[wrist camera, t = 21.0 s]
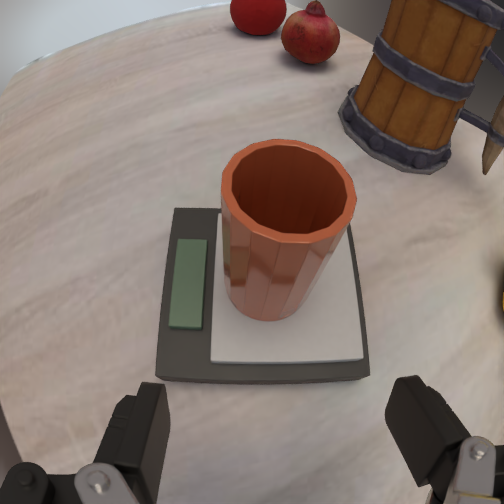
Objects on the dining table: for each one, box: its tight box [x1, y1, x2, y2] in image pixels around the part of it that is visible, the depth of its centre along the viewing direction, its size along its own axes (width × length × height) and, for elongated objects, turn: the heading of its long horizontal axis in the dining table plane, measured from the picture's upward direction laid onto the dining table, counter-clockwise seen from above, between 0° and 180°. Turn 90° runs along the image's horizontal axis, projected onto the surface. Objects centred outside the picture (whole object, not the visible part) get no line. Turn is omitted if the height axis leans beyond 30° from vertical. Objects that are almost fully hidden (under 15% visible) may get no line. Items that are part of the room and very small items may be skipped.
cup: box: [221, 139, 357, 322], centre depth 16 cm, size 5×5×9 cm
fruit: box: [281, 0, 340, 64], centre depth 36 cm, size 8×8×10 cm
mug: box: [338, 0, 504, 175], centre depth 24 cm, size 19×14×20 cm
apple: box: [230, 0, 287, 35], centre depth 41 cm, size 9×9×10 cm
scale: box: [155, 208, 370, 384], centre depth 21 cm, size 13×12×3 cm
